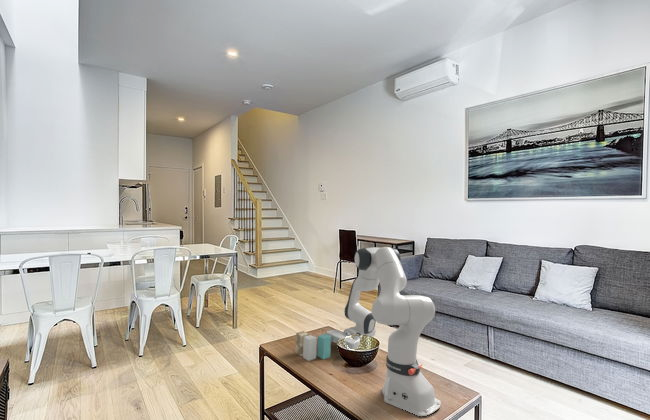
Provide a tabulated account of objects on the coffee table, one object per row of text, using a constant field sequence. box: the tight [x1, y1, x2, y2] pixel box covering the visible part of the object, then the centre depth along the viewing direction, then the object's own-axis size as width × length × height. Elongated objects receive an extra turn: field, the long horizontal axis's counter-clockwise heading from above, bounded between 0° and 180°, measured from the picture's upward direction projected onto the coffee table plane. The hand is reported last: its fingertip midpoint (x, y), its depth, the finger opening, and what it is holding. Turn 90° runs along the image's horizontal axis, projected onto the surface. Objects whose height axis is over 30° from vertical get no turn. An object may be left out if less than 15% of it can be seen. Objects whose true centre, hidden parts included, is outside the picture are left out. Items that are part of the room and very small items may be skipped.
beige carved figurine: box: [295, 330, 310, 357], centre depth 166 cm, size 4×4×10 cm
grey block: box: [302, 334, 318, 362], centre depth 161 cm, size 4×4×10 cm
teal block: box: [316, 333, 332, 360], centre depth 163 cm, size 4×4×10 cm
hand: (331, 343), depth 166 cm, fingers open, 8 cm apart
